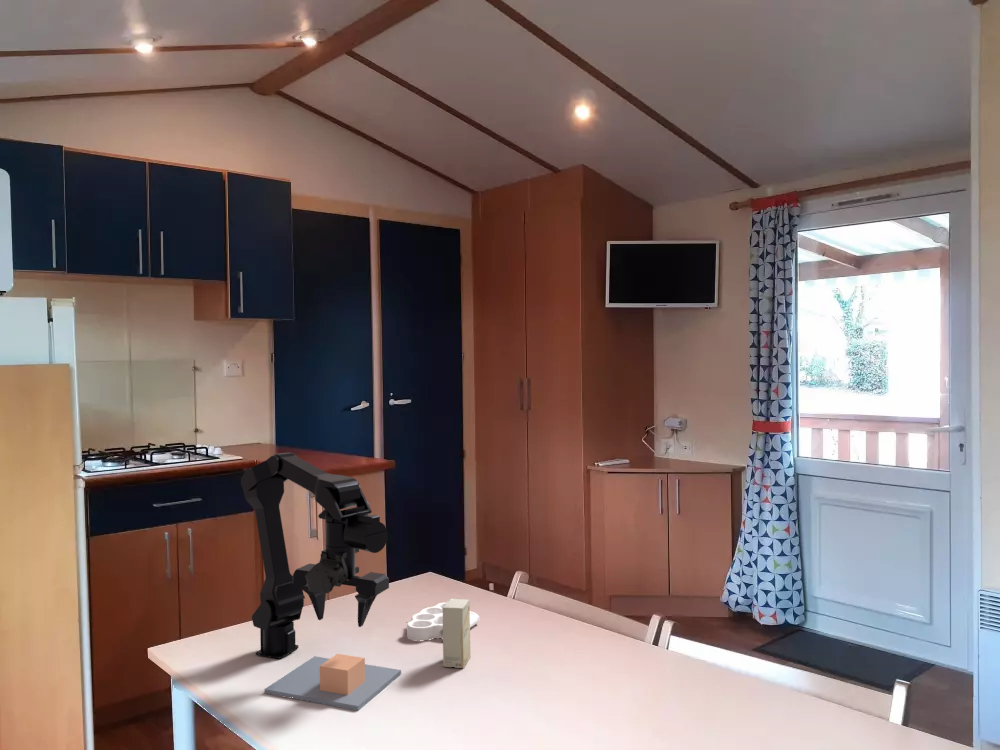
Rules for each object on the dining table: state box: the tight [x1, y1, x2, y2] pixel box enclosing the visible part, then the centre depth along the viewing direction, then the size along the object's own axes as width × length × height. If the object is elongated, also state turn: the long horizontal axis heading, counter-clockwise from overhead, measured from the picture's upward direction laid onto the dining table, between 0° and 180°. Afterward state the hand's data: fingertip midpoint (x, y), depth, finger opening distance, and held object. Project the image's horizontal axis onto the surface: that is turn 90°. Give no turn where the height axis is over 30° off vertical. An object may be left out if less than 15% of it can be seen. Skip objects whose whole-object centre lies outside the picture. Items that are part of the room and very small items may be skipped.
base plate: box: [264, 655, 402, 711], centre depth 142 cm, size 20×16×4 cm
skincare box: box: [442, 598, 472, 669], centre depth 152 cm, size 6×4×12 cm
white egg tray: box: [405, 602, 481, 642], centre depth 171 cm, size 3×18×15 cm
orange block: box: [320, 653, 366, 695], centre depth 139 cm, size 6×6×4 cm
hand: (340, 622), depth 145 cm, fingers open, 9 cm apart
